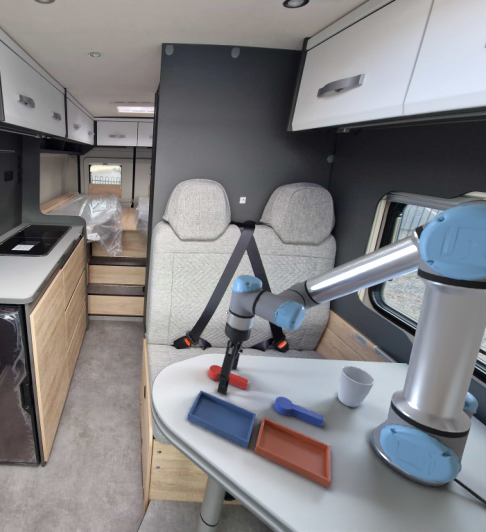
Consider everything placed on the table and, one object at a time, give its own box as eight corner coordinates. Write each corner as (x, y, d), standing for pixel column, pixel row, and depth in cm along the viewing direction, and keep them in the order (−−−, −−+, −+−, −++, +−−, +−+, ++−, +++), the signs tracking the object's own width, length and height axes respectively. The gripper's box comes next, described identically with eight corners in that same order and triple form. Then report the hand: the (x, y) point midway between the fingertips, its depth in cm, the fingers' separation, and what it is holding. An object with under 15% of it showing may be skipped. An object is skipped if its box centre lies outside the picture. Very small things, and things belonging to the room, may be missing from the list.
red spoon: (248, 383, 100) (249, 377, 99) (244, 392, 96) (246, 386, 96) (211, 368, 106) (212, 363, 105) (206, 376, 102) (207, 371, 101)
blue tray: (254, 419, 87) (256, 413, 86) (246, 448, 78) (248, 442, 77) (199, 395, 94) (200, 390, 94) (187, 419, 86) (187, 414, 85)
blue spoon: (321, 418, 88) (323, 412, 87) (321, 430, 84) (323, 424, 83) (275, 400, 94) (276, 394, 93) (272, 410, 90) (274, 404, 89)
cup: (368, 413, 91) (380, 387, 87) (338, 408, 92) (349, 381, 88) (356, 393, 98) (366, 368, 94) (328, 388, 100) (337, 363, 96)
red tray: (328, 451, 79) (330, 445, 78) (328, 488, 70) (331, 482, 69) (261, 422, 86) (262, 416, 85) (254, 452, 77) (255, 446, 77)
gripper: (236, 304, 105) (226, 355, 113) (214, 340, 85) (204, 399, 93) (259, 311, 102) (247, 362, 110) (242, 350, 82) (229, 410, 89)
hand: (227, 379), depth 101 cm, fingers open, 13 cm apart
